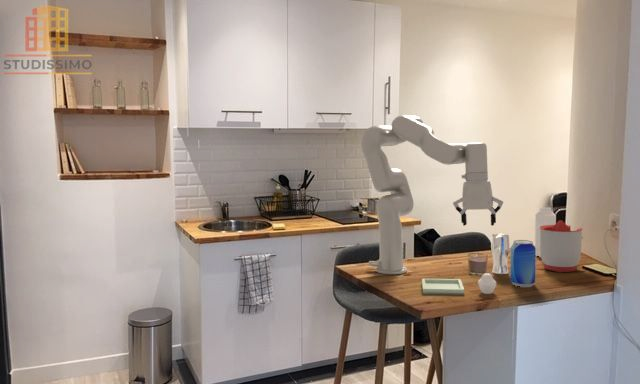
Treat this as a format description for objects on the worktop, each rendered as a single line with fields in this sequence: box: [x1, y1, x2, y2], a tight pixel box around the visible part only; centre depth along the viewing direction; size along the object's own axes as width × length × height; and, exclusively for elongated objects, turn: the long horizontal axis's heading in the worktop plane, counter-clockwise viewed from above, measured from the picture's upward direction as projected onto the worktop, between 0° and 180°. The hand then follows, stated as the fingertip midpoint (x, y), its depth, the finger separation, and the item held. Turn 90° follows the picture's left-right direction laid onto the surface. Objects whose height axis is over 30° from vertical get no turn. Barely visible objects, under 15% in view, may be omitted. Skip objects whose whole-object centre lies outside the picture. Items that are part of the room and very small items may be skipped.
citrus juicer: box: [540, 219, 584, 273], centre depth 215 cm, size 16×17×20 cm
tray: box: [421, 278, 465, 296], centre depth 193 cm, size 14×14×2 cm
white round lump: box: [477, 272, 497, 295], centre depth 186 cm, size 6×6×7 cm
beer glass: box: [490, 233, 511, 275], centre depth 213 cm, size 7×7×15 cm
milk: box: [534, 206, 557, 258], centre depth 238 cm, size 6×6×22 cm
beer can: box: [510, 239, 536, 288], centre depth 194 cm, size 8×8×16 cm
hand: (478, 225), depth 192 cm, fingers open, 9 cm apart
